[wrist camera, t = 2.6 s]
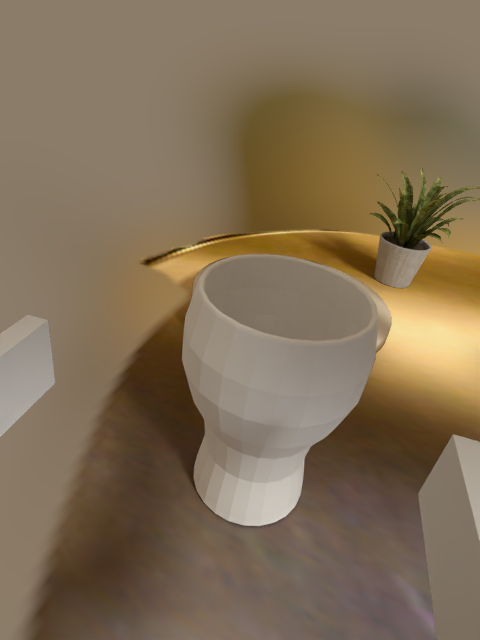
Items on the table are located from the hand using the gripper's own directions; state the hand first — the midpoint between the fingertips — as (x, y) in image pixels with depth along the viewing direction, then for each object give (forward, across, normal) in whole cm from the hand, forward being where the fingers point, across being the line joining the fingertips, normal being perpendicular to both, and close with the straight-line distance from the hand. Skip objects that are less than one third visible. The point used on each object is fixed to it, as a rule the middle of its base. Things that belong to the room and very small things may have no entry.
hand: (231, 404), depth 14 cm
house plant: (+51, +14, -15) cm, 55 cm away
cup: (+10, +1, -16) cm, 19 cm away
